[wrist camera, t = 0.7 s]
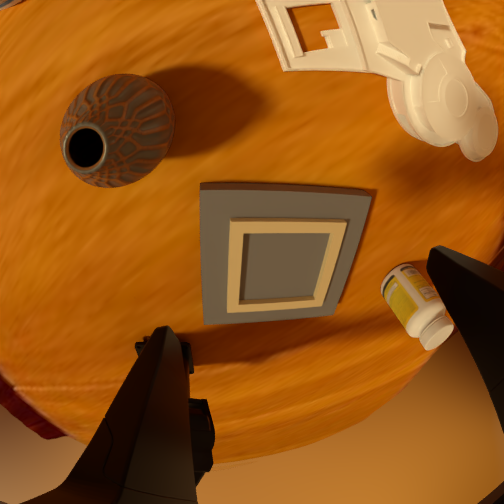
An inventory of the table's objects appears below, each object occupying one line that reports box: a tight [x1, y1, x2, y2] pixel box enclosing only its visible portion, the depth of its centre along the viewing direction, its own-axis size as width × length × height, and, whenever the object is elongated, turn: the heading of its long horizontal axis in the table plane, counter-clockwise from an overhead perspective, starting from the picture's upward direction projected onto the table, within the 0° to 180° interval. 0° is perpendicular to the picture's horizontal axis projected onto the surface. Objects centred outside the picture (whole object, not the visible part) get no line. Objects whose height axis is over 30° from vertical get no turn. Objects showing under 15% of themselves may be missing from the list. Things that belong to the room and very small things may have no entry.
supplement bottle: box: [381, 264, 454, 350], centre depth 26 cm, size 5×5×10 cm
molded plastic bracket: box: [255, 0, 498, 162], centre depth 13 cm, size 23×25×4 cm
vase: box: [60, 74, 175, 188], centre depth 13 cm, size 7×7×9 cm
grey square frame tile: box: [200, 183, 372, 325], centre depth 24 cm, size 14×14×2 cm
